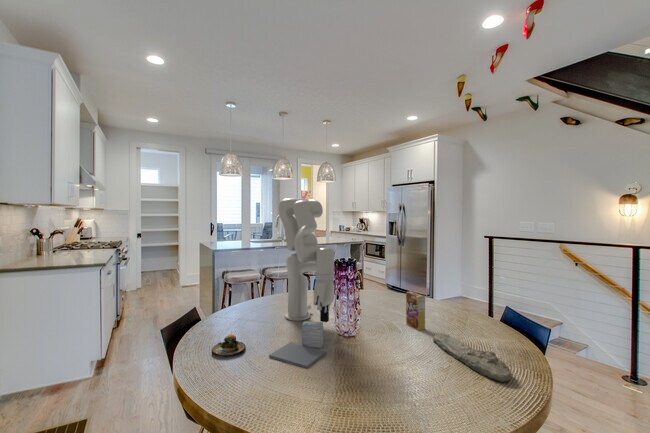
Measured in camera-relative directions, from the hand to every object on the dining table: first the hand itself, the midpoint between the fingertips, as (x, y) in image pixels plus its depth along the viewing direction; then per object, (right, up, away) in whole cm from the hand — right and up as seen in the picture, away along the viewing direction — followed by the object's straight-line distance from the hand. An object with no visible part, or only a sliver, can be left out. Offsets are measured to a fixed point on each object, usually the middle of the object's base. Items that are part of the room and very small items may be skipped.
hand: (324, 321), depth 130 cm
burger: (-35, -7, -14) cm, 39 cm away
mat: (-9, -7, -17) cm, 20 cm away
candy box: (+42, -7, +13) cm, 44 cm away
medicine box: (-5, -7, -8) cm, 12 cm away
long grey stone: (+51, -8, -18) cm, 55 cm away
